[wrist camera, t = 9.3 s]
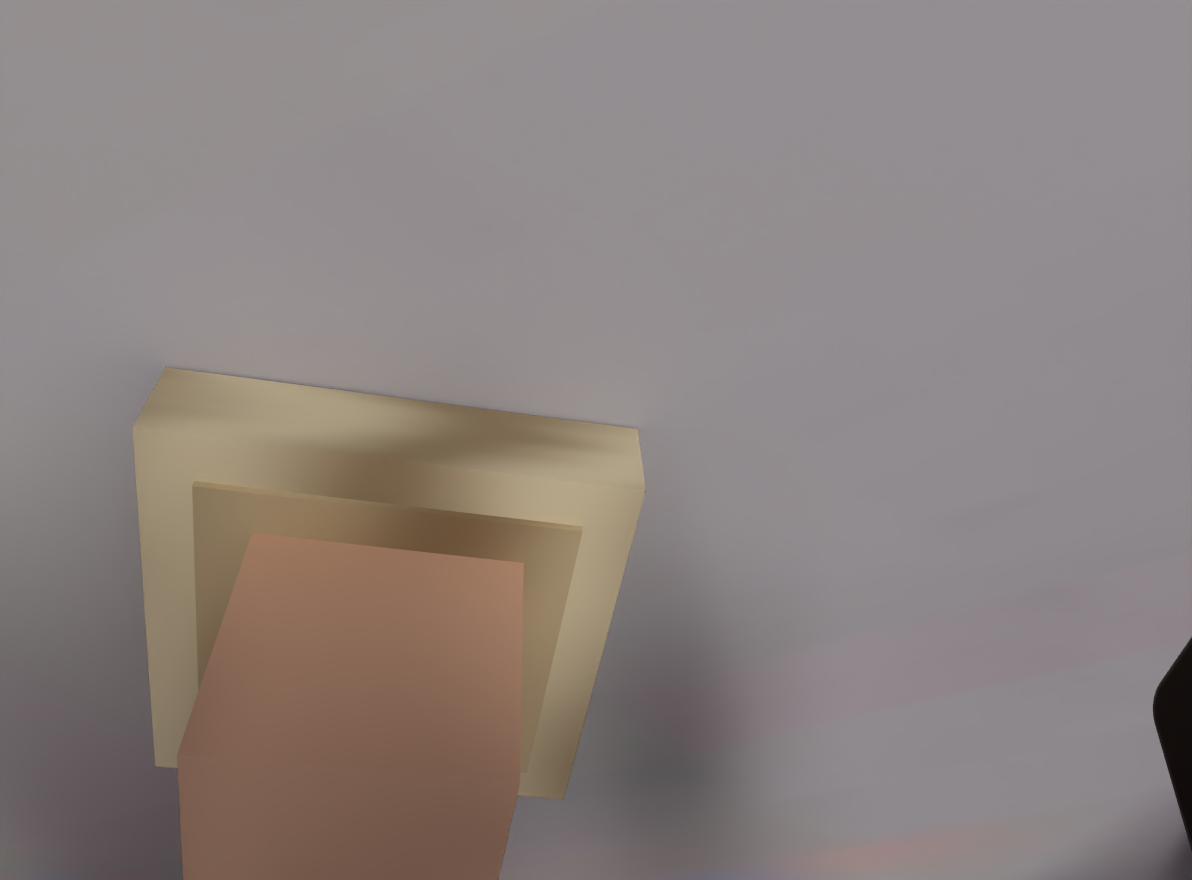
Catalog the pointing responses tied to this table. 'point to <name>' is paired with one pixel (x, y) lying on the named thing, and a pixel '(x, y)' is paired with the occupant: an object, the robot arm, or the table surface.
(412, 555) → the cube
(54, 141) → the table surface
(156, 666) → the plinth
